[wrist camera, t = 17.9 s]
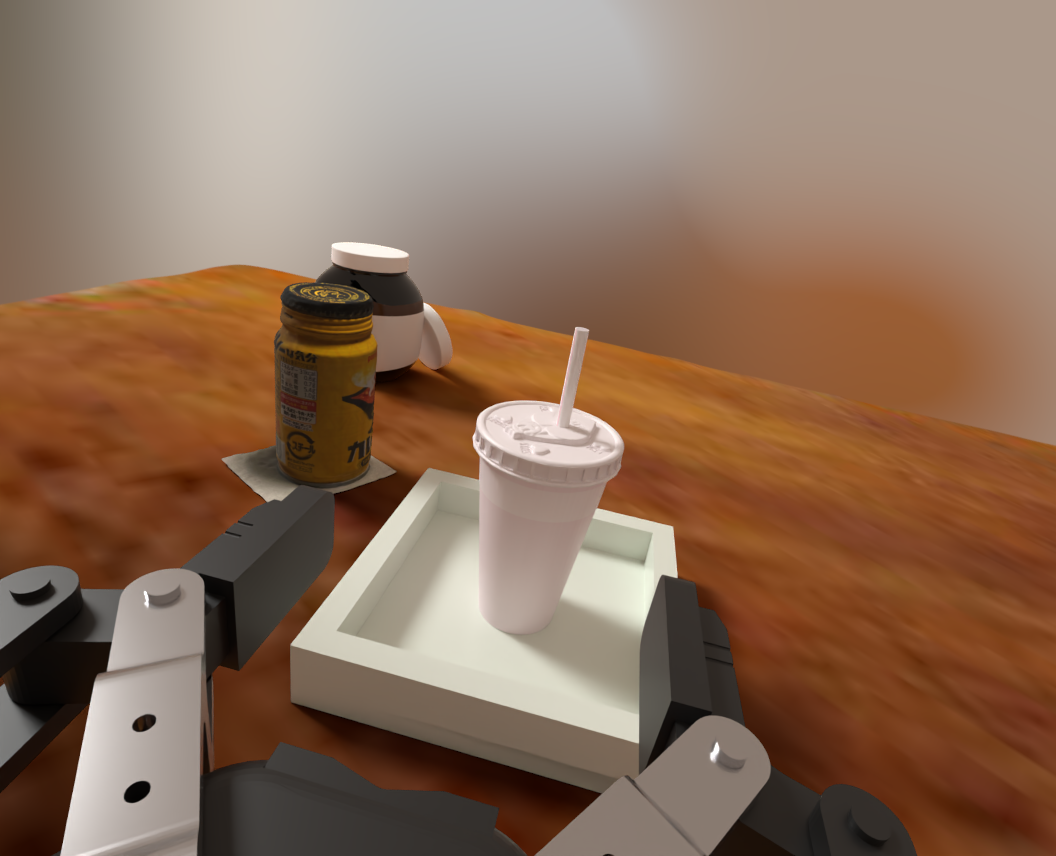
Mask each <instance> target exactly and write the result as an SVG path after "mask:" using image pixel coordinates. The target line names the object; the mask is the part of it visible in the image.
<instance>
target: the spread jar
mask: <svg viewBox="0 0 1056 856" xmlns="http://www.w3.org/2000/svg"><path fill="white" fill-rule="evenodd" d="M331 259H332V260H331V261H332V262H333V265H332V266H331V267H330V268H328V269H327V270H326V271H324V272H323V273H322V274H321V275H320V276H319V277H318V279H317V280H316V282H315V283H329V284H336V285H344V286H348V287H352V288H356V289H359V290H362V291H364V292H366V293H367V294H368V295H370V296H371V297H372V299H373V304H374V308H373V314H372V322H373V329H372V332H371V333H372V334H373V335H374V337H375V340H376V341H377V345H378V346H377V364H376V378H375V383H378V382H386V381H390V380H393V379H396V378H397V377H399V376H401V375H402V374H404V373H405V372H406V371H408V370H409V369H410V368H411V367H412V366H413V365H414V363H415V362H416V361H417V359H418V358H419V359H420V360H421V361H422V363H423V364H425V365H426V366H427V367H428V368H430V369H433V370H436V369H439V368H441V367H443V366H445V365H447V364H449V362H450V361H451V358H452V345H451V340H450V337H449V334H448V331H447V329H446V327H445V325H444V323H443V321H442V319H441V318H440V316H439V315H438V314H437V312H436V311H435V310H434V309H433V308H432V307H430V306H429V305H428V304H425V303H423V299H422V296H421V294H420V291H419V290H418V288H417V286H416V285H415V283H414V282H413V281H412V280H411V278H410V277H409V276H408V275H407V274H406V273H407V270H408V263H409V254H408V253H406V252H404V251H401V250H398V249H394V248H390V247H385V246H380V245H373V244H365V243H351V242H349V243H348V242H344V243H343V242H342V243H334V244H332V257H331Z"/></svg>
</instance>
